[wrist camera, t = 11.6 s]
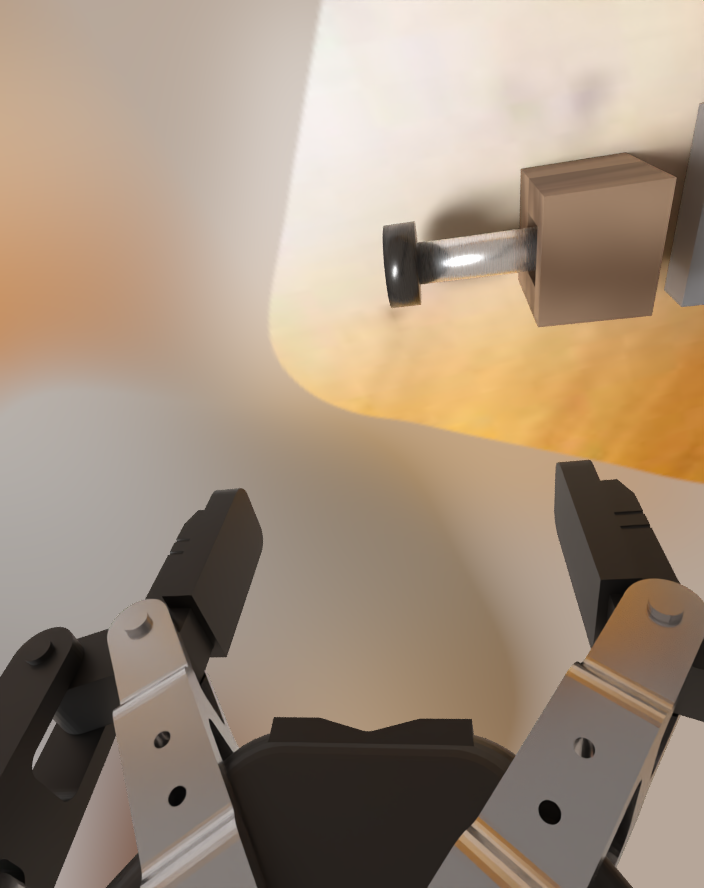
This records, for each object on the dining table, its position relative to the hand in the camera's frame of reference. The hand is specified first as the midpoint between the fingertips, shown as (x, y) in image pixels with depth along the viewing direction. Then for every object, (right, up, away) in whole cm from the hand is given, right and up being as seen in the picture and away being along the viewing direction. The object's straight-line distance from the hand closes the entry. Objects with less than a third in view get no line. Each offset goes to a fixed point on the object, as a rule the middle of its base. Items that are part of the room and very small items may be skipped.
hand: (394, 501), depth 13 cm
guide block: (+10, +13, +14) cm, 22 cm away
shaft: (+6, +12, +14) cm, 19 cm away
